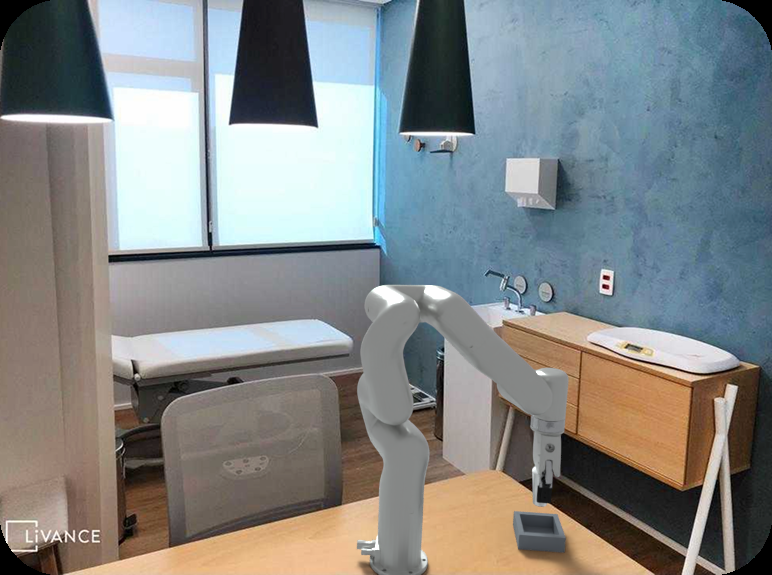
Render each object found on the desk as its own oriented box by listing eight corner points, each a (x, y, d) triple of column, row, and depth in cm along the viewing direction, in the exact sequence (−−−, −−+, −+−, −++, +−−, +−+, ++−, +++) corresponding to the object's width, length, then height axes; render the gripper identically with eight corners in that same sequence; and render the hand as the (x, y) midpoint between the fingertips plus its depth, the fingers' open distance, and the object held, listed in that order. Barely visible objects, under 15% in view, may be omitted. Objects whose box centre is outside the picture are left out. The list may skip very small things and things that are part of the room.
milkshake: (555, 509, 150) (558, 468, 148) (531, 508, 150) (535, 467, 148) (550, 499, 155) (554, 459, 153) (528, 498, 155) (531, 458, 153)
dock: (518, 549, 149) (519, 534, 149) (512, 524, 160) (513, 511, 159) (564, 552, 149) (565, 538, 148) (556, 527, 159) (557, 514, 158)
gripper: (572, 439, 140) (565, 517, 144) (557, 410, 157) (552, 481, 160) (536, 437, 141) (530, 515, 144) (526, 408, 157) (520, 479, 161)
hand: (541, 496), depth 152 cm, fingers closed on milkshake, 4 cm apart
